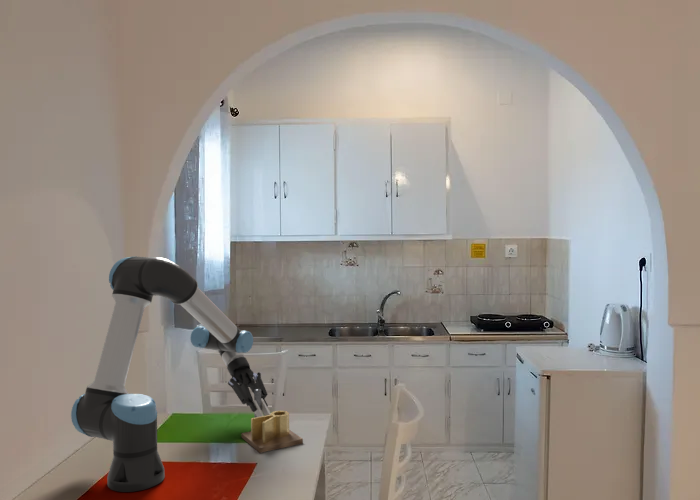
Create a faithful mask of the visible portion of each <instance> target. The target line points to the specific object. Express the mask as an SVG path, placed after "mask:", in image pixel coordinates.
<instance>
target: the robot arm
mask: <svg viewBox="0 0 700 500" xmlns="http://www.w3.org/2000/svg"><path fill="white" fill-rule="evenodd" d="M108 282H109V283H110V288H111V289H112V294H111V297H112V298H113V300H114V307H113V310H112V314H111V318H110V322H109V324H108V325H109V326H108V329H107V332H106V336H105V339H104V344H103V347H102V351H101V355H100V358H99V362H98V366H97V368H96V369H97V370H96V373H95V376H94V380H93V382H92V383H90V384H88V385H87V387H86V389H85V393H83V394H82V395H80V396H79V397H78V399H77V398H76V399H75V401H74V403H73V405H72V407H71V413H70V418H71V423H72V425H73V426H74V427H73V428H75V430H76V431H77V432H79V433H80V434H82V435H85V436H87V437H91V438H98V439H102V440H103V439H104V440H107V441H111V442H112V447H113V448H112V451H113V457H112V460H111V463H110V467H109V470H108V473H107V478H106V481H107V483H106V484H107V487H108V488H109V489H110V490H111V491H114V492H121V493H131V492H139V491H143V490H148V489H150V488H153V487H156V486H158V485H159V484H160V483H162V482H163V481H164V479H165V477H166V475H165V467H164V465H163V464H164V463H163V461H162V459H161V456H160V454H159V451H158V410H157V404H156V401H155V399H154V398H153V397H151V396H150V395H146V394H142V393H129V391H128V389H126V381H127V378H128V373H129V370H130V366H131V362H132V359H133V354H134V351H135V348H136V347H135V346H136V342H137V340H138V339H137V338H138V335H139V331H140V326H141V323H142V319H143V316H144V312H145V309H146V307H149V306H150V305H151V304H152V301H153V297H154V296H158V297H161V298H162V297H163V298H165V299H168V300H169V301H170V302H171V303H173V304H175V305H180V306H181V307H182V308H183V309H184V310H185V311H186V312H187V313H188V314H189V315H191V316H192V317H193V319H195V320H196V321H197V322H198V323H199V324H201V326H196V327H195V328H194V329H192V331H191V333H190V338H189V339H190V342H191V345H192V346H194V347H195V348H198V349H205V350H213V351H217V352H218V353H219V355H220V357H221V359H222V361H223V363H224V365H225V366H226V369H227V370H228V373H229V374H230V376H231V378H229V380H228V381H227V384H228V385H229V386H230V388H232V390H233V391H234V393H235V394H236V396H237V398H238V399H239V401H240V402H241V405H242V404H243V405H246V406H247V407H249V408H250V410H251V412H253V413H254V412H255V414H256V416H257V417H261V416H266V415H270V414H271V413H272V412H271V411H270V409H269V408H268V407H269V404H268V403H267V400H266V398H267V396H268V395H269V394H268V392H267V390H266V388H265V387H266V386H265V385H264V381H263V380H262V373H261V372H260V371H259V372H257V373H256V372H254V371H253V370H252V369H251V367H250V365H251V364H250V363H249V361H248V359H247V358H246V356H245V354H244V353H248V352H251V349H252V347H253V345H254V336H253V334H252V332H251V331H248V330H245V329H244V330H242V329H240V328H239V327H238V326H237V325H235V323H234V322H233V321H232V320H231V319H230V318H229V317H228V316H227V315H226V314H225V313H224V312H223V311H222V310H221V309H220V308H219V307H218V306H217V305H216V304H215V303H214V302H213V301H212V300H211V299H210V298H209V297H208V296H207V295H206V294H205V293H204V291H202V290H201V289H200V288H199V285H198V281H197V280H196V279H195V278H194V277H193V276H192V275H191V274H190V273H189V272H188V271H187V270H185V269H184V268H183V267H182V266H181V265H178V264H177V263H176V262H174V261H172V260H170V259H168V258H166V257H165V258H164V257H161V256H159V257H158V256H155V257H154V256H153V257H151V256H129V257H128V256H127V257H126V256H125V257H123V258H121V259H119V260H117V261H116V262H115V263H114V264H113V266H112V267H111V269H110V271H109V274H108ZM254 389H261V409H260V407H259V406H258V404H257V402H256V400H254V398H253V395H252V393H253V394H254ZM250 390H251V391H250ZM251 392H252V393H251Z"/></svg>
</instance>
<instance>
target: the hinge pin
mask: <svg viewBox="0 0 700 500" xmlns="http://www.w3.org/2000/svg"><path fill="white" fill-rule="evenodd" d="M253 397H254V398H253V401H254V400H256V402H257V404H258V406H259V407H260V409H261V389H254V393H253ZM253 413H254V417H253V418H256V417H257V416H256V414H255V412H253Z"/></svg>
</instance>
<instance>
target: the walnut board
mask: <svg viewBox="0 0 700 500" xmlns="http://www.w3.org/2000/svg"><path fill="white" fill-rule="evenodd" d="M240 436H241V439H242V440H244V441H245V442H246V443H248V444H249V445H250V446H251V447H252V448H253V449H254V450H256V451H257V452H258V453H259V454H261V453H265V452H268V451H269V452H270V451H273V450H278V449H283V448H288V447H289V448H290V447H292V446H299V445H302V444H303V443H304V439H303V437H301V436H299V435H298V434H296V433H295V432H293V431H292V430H291V429H289V435H288V436H285V437H276V438H274V439H273V440H271V441H270V442H268V443H267V444H263V438H262V439H257V440H251V430H250V431H246V432H245V431H244V432H241V435H240Z"/></svg>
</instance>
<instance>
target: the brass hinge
mask: <svg viewBox="0 0 700 500" xmlns="http://www.w3.org/2000/svg"><path fill="white" fill-rule="evenodd" d="M270 413H271V414H270V415H266V416H261V417H256V418H255V417H252V418H250V431H251V440H257V439H262V438H263V444H267V443H268V442H270V441H271V440H273V439H274V438H276V437H285V436H288V435H289V430H290V412H288V411H286V410H274V411H271V412H270Z"/></svg>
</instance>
